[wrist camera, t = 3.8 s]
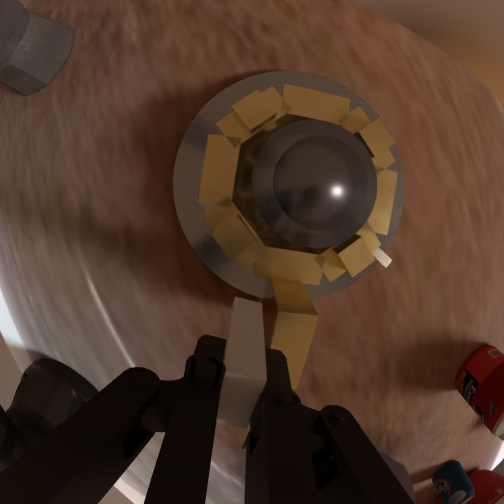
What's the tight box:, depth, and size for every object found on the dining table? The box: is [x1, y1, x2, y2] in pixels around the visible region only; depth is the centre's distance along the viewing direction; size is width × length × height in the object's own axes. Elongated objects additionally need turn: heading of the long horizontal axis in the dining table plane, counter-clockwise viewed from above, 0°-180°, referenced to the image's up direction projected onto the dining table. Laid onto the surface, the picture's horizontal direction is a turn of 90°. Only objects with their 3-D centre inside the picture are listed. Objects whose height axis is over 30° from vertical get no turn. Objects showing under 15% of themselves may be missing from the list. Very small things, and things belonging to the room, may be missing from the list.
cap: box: [173, 71, 404, 300], centre depth 16 cm, size 18×18×9 cm
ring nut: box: [198, 84, 398, 389], centre depth 16 cm, size 12×17×8 cm
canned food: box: [456, 345, 504, 437], centre depth 20 cm, size 8×8×11 cm
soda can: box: [432, 460, 475, 504], centre depth 27 cm, size 7×7×12 cm
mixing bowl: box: [435, 469, 504, 504], centre depth 30 cm, size 28×28×15 cm
